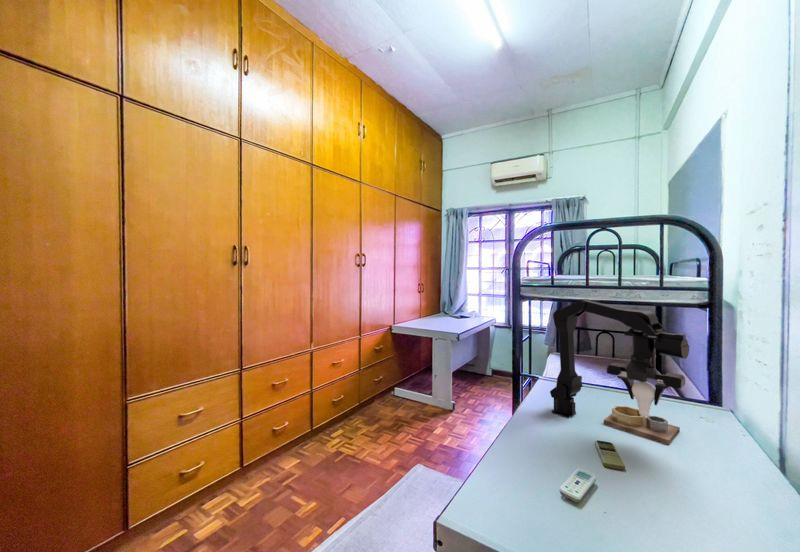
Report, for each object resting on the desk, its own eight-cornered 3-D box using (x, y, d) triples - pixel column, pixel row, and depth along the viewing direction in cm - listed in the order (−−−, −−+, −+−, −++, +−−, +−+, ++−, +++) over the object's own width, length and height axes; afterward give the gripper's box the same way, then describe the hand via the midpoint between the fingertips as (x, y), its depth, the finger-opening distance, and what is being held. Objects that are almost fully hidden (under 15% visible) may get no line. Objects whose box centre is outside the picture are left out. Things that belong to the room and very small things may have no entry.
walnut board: (603, 424, 113) (603, 419, 113) (617, 413, 121) (617, 409, 121) (668, 445, 99) (668, 440, 99) (679, 431, 107) (679, 427, 107)
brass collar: (609, 419, 113) (609, 410, 113) (618, 412, 119) (618, 404, 119) (639, 428, 106) (639, 419, 106) (648, 420, 112) (647, 412, 112)
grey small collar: (644, 427, 107) (644, 418, 107) (649, 423, 110) (649, 414, 110) (664, 433, 102) (664, 424, 102) (669, 428, 106) (669, 419, 106)
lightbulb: (653, 414, 101) (653, 379, 101) (659, 422, 96) (659, 385, 96) (630, 411, 104) (629, 377, 104) (634, 418, 98) (634, 383, 98)
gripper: (599, 350, 102) (600, 399, 102) (675, 362, 87) (676, 420, 87) (613, 345, 109) (613, 391, 109) (685, 355, 94) (685, 409, 94)
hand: (643, 402), depth 100 cm, fingers closed on lightbulb, 6 cm apart
